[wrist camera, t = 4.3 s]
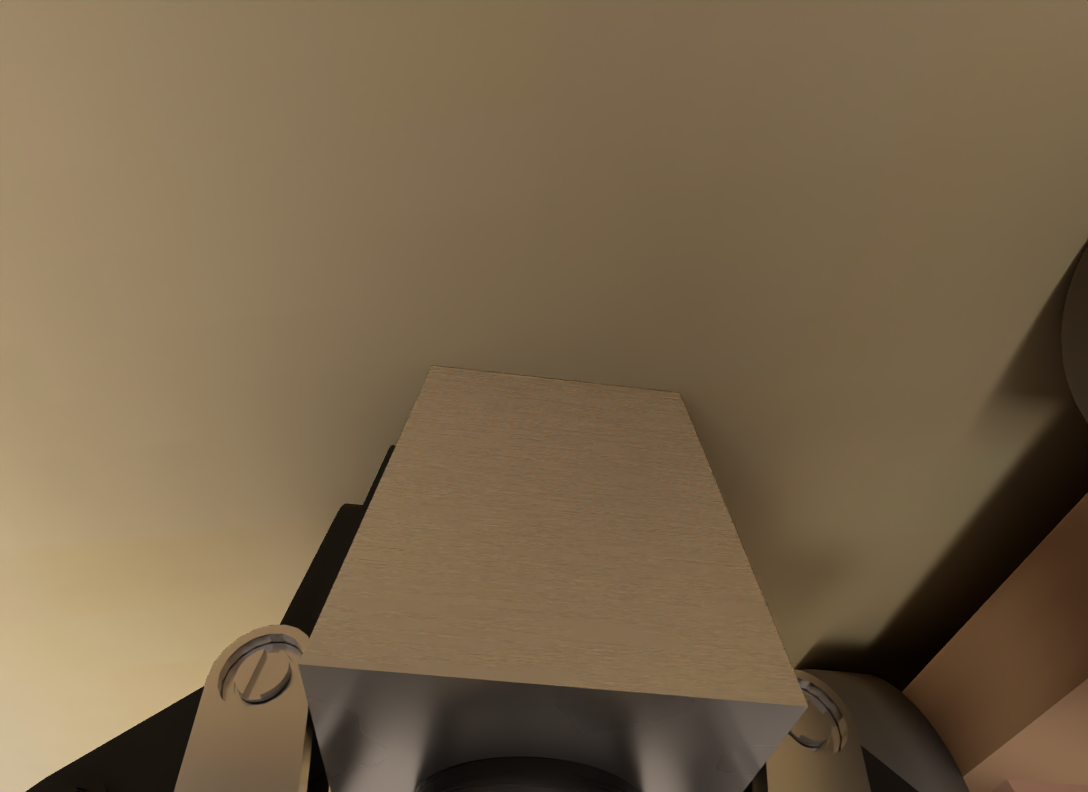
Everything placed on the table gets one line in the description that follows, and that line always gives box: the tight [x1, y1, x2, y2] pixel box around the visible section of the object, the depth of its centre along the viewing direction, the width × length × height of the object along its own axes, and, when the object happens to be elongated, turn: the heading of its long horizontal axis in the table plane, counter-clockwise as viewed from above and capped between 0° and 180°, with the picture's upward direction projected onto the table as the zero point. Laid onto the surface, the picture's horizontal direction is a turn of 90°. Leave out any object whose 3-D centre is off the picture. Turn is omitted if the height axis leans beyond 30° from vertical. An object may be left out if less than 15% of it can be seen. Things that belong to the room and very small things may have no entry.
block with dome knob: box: [298, 366, 808, 792], centre depth 9 cm, size 6×5×7 cm
